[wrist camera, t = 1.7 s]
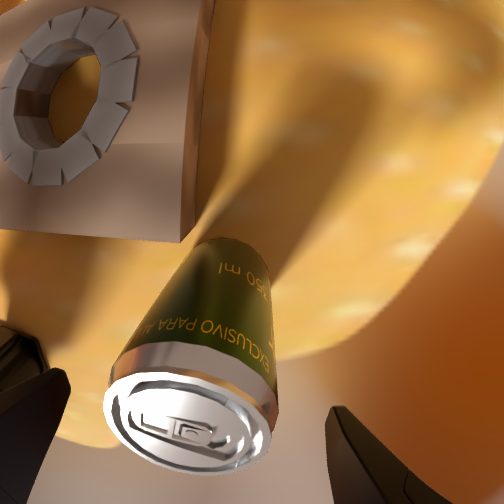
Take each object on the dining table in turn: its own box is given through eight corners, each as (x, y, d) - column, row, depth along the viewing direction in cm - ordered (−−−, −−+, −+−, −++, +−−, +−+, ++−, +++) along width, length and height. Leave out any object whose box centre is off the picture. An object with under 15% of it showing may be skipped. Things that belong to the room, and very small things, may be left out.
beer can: (176, 302, 19) (101, 449, 8) (193, 223, 18) (92, 335, 6) (255, 324, 20) (250, 488, 8) (280, 248, 18) (311, 395, 7)
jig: (194, 227, 18) (179, 244, 14) (6, 216, 18) (-25, 228, 14) (217, -17, 13) (209, -47, 9) (25, 26, 13) (-3, 15, 9)
